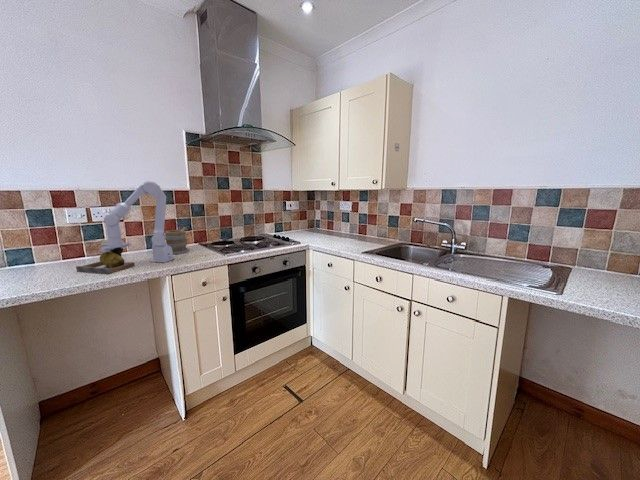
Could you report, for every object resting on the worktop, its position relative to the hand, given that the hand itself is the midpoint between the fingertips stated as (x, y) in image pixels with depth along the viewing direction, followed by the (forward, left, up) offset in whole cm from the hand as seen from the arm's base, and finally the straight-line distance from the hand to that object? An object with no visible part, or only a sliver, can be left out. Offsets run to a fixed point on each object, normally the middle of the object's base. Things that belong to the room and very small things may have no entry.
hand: (118, 261), depth 142 cm
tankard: (-9, -35, -2) cm, 36 cm away
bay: (0, +7, -2) cm, 7 cm away
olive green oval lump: (-2, +4, -2) cm, 5 cm away
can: (+13, -7, -2) cm, 15 cm away
